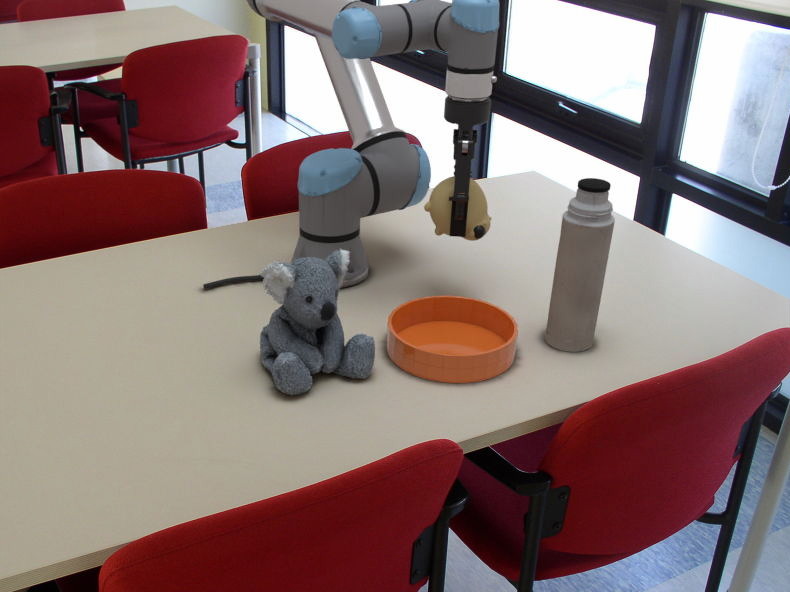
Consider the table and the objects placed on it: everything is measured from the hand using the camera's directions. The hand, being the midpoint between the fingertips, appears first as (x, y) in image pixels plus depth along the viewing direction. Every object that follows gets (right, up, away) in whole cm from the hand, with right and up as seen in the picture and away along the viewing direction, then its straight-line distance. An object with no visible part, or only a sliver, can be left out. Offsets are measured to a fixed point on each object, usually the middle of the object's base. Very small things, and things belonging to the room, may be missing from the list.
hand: (457, 224), depth 160 cm
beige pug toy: (0, -2, +1) cm, 2 cm away
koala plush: (-26, -25, -13) cm, 39 cm away
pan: (-3, -23, -9) cm, 24 cm away
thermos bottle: (+18, -21, -6) cm, 28 cm away
